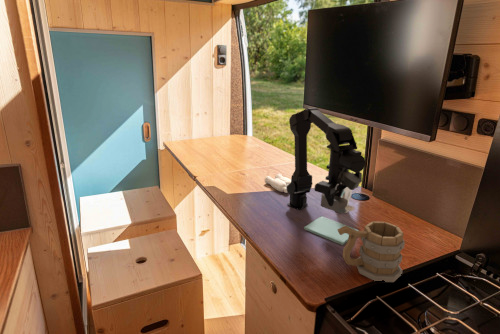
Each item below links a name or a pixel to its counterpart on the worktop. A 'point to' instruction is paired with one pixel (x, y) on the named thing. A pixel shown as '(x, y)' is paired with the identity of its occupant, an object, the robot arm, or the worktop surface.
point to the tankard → (376, 250)
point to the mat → (328, 230)
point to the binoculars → (278, 182)
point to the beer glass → (346, 195)
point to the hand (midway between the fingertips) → (333, 204)
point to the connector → (337, 204)
